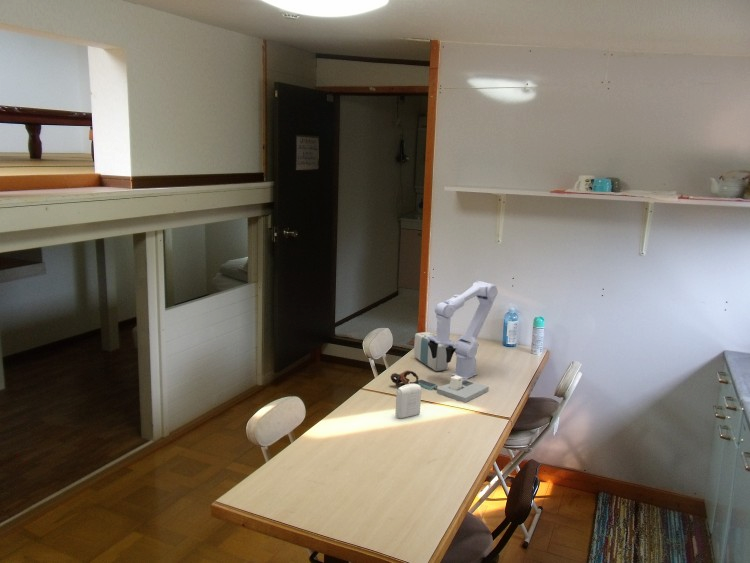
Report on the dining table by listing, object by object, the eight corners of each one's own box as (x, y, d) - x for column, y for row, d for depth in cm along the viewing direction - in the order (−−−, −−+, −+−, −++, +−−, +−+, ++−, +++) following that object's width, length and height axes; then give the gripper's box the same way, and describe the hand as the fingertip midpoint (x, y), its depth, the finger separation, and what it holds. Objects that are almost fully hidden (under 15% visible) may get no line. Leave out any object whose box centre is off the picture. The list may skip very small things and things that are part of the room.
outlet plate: (460, 382, 272) (461, 377, 271) (488, 391, 263) (488, 385, 262) (436, 393, 258) (437, 387, 258) (465, 402, 249) (465, 397, 249)
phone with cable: (414, 384, 267) (414, 381, 267) (420, 381, 270) (420, 379, 270) (437, 392, 259) (437, 389, 259) (443, 389, 262) (444, 386, 262)
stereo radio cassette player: (412, 358, 301) (414, 319, 296) (427, 356, 304) (429, 317, 300) (434, 373, 282) (437, 331, 278) (449, 370, 286) (452, 329, 281)
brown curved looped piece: (414, 383, 270) (420, 371, 265) (413, 399, 262) (420, 387, 257) (388, 376, 268) (393, 364, 263) (386, 392, 261) (392, 380, 256)
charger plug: (455, 389, 262) (456, 375, 261) (461, 391, 260) (462, 377, 259) (449, 392, 259) (450, 377, 258) (456, 394, 257) (457, 379, 256)
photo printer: (415, 410, 241) (416, 380, 238) (421, 414, 237) (423, 384, 234) (393, 415, 235) (394, 385, 232) (400, 419, 231) (401, 388, 229)
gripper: (424, 328, 269) (422, 358, 271) (451, 335, 259) (449, 366, 262) (433, 325, 274) (432, 354, 277) (461, 332, 264) (459, 362, 267)
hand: (441, 360), depth 270 cm, fingers open, 7 cm apart
